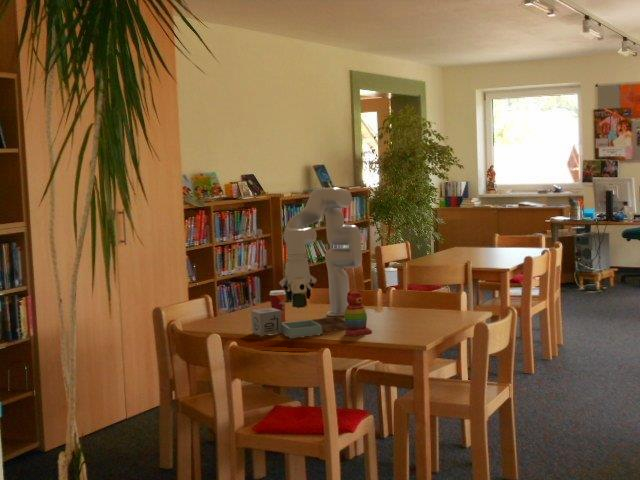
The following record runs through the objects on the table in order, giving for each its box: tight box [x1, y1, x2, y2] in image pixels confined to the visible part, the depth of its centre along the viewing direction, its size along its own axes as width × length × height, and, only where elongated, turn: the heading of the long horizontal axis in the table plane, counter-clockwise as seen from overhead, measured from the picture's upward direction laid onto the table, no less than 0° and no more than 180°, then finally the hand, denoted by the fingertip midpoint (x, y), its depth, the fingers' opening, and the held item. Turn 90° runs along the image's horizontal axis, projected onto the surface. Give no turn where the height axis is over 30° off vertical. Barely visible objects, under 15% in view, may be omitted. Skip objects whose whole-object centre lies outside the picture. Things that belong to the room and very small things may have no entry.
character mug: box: [291, 278, 308, 309], centre depth 373 cm, size 11×7×13 cm, turn 151°
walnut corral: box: [312, 316, 347, 332], centre depth 386 cm, size 13×17×2 cm
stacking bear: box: [344, 290, 373, 337], centre depth 368 cm, size 11×10×18 cm
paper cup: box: [268, 289, 287, 322], centre depth 408 cm, size 8×8×14 cm
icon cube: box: [250, 307, 283, 337], centre depth 379 cm, size 10×10×10 cm
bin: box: [282, 319, 323, 339], centre depth 375 cm, size 14×16×4 cm
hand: (299, 299), depth 373 cm, fingers closed on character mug, 7 cm apart
